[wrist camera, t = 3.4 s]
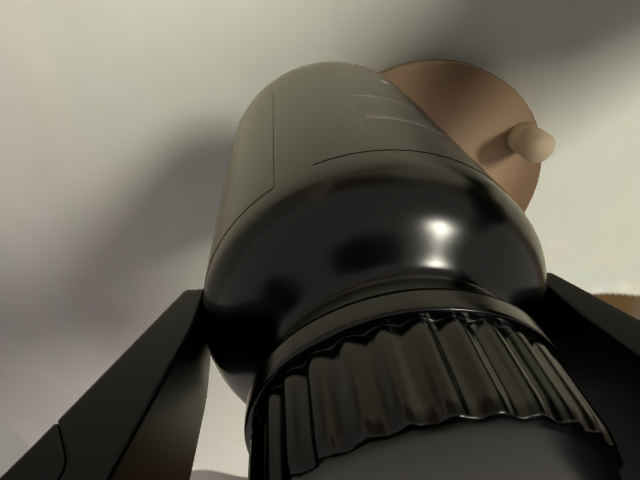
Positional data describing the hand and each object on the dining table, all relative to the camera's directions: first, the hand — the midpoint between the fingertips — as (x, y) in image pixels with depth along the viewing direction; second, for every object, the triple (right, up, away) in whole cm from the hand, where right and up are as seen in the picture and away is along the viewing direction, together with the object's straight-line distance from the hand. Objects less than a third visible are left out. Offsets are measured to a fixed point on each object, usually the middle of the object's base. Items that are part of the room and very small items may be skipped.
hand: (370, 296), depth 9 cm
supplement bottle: (-1, +4, +6) cm, 8 cm away
